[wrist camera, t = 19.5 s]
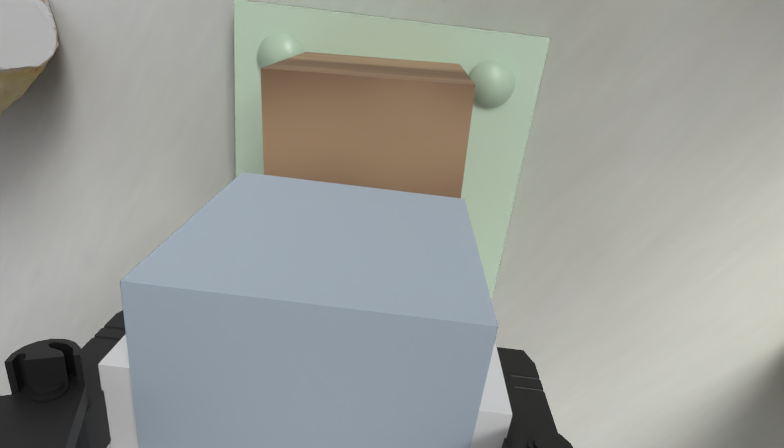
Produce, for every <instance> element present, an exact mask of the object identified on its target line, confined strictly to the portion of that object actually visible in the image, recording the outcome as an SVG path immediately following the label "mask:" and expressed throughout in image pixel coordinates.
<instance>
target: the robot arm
mask: <svg viewBox="0 0 784 448" xmlns="http://www.w3.org/2000/svg"><path fill="white" fill-rule="evenodd" d="M5 366H6V371H7V375H8V379H9V383H10V388H11V392H12V394H11V395H5V396H0V448H106V447H107V446H108V444H109V443H110V448H139V447H138V438H137V429H136V420H135V411H134V402H133V393H132V384H131V376H130V367H129V358H128V349H127V340H126V331H125V322H124V313H123V311H121V312H119V313H117V314H116V315H115V316H114V317H113V318H112V319H111V320H110V321H109V322H108V323H107V324H106V325H105V326H104V328H102V329H101V330H100V331H99V332H98V333H97V334H96V335H95V337H94V338H92V339H91V340H90V341H89V342H88V343H87V344H86V345H85V346H84V347H83V348H82V349H80V347H79V346H78V345H77V344H76V343H75V342H73V341H70V340H66V339H49V340H43V341H37V342H35V343H32V344H29V345H27V346H24V347H22V348H20V349H19V350H17V351H16V352H14V353H12V354H11V355H10V356H9V357H8V359H7V360H6V361H5ZM470 448H573V447H572V445H571V443H569V442H568V441H567V440H566V439H565V438H564V437H563V436H562V435H560V434H558V432H557V429H556V426H555V423H554V420H553V417H552V414H551V411H550V408H549V405H548V402H547V399H546V396H545V393H544V392H543V387H542V384H541V381H540V380H539V375H538V372H537V369H536V366H535V363H534V362H533V361H532V360H531V359H530V358H529V357H528V355H527V354H526V353H525V352H524V351H523V350H515V349H507V348H499V347H496V342H495V343H494V347H493V351H492V356H491V360H490V365H489V369H488V373H487V378H486V382H485V386H484V391H483V395H482V399H481V404H480V408H479V413H478V417H477V421H476V426H475V430H474V434H473V439H472V443H471V447H470Z"/></svg>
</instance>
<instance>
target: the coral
mask: <svg viewBox="0 0 784 448" xmlns="http://www.w3.org/2000/svg"><path fill="white" fill-rule="evenodd" d="M58 45H59V42H58V37H57V28H56V25H55V22H54V18H53V15H52V12H51V9H50V6H49V2H48V0H0V115H1V114H2V113H3V112H4V111H5V109H6V108H8V107H9V106H11V105H12V103H13V102H14V101H16V100H17V99H19V98H21V97H22V96H23V94H24V93H25V92H26V91H27V89H28V88H29V87H30V85H31V84H32V83H33V82H34V81H35V80H36V78H37V77H38V75H39V74H41V72H42V71H43V70H44V69H45V67H46V65H47V63H48V61H49V60H50V59H51V58H52V56H53V54H54V52H55V50H56V48H57V47H58Z"/></svg>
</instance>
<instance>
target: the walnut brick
mask: <svg viewBox="0 0 784 448" xmlns="http://www.w3.org/2000/svg"><path fill="white" fill-rule="evenodd" d="M260 70H261V100H262V131H263V161H264V175H271V176H279V177H287V178H296V179H304V180H312V181H320V182H329V183H337V184H345V185H354V186H362V187H370V188H378V189H387V190H395V191H403V192H412V193H420V194H428V195H436V196H445V197H453V198H461V192H462V184H463V177H464V169H465V162H466V154H467V146H468V139H469V131H470V124H471V116H472V108H473V101H474V93H475V86H476V85H475V84H474V82H473V81H472V80H471V78H470V77H469V76H468V74H467V73H466V72H465V70H464V69H463V68H462V66H461V65H460V64H455V63H442V62H429V61H417V60H404V59H391V58H378V57H365V56H352V55H339V54H326V53H313V52H304V53H301V54H298V55H295V56H293V57H290V58H287V59H284V60H282V61H279V62H276V63H273V64H271V65H268V66H265V67H262V68H260Z"/></svg>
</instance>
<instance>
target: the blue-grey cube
mask: <svg viewBox="0 0 784 448" xmlns="http://www.w3.org/2000/svg"><path fill="white" fill-rule="evenodd" d="M120 286H121V295H122V304H123V313H124V322H125V331H126V340H127V349H128V358H129V367H130V376H131V384H132V393H133V402H134V411H135V420H136V429H137V438H138V447H139V448H470V447H471V443H472V439H473V434H474V430H475V426H476V421H477V417H478V413H479V408H480V404H481V399H482V395H483V391H484V386H485V382H486V378H487V373H488V369H489V365H490V360H491V356H492V351H493V347H494V343H495V338H496V334H497V330H498V324H497V320H496V316H495V313H494V309H493V305H492V301H491V297H490V294H489V290H488V286H487V282H486V278H485V275H484V271H483V267H482V263H481V259H480V256H479V252H478V248H477V244H476V240H475V237H474V233H473V229H472V225H471V222H470V218H469V214H468V210H467V206H466V203H465V199H461V198H453V197H445V196H436V195H428V194H420V193H412V192H403V191H395V190H387V189H378V188H370V187H362V186H354V185H345V184H337V183H329V182H320V181H312V180H304V179H296V178H287V177H279V176H271V175H262V174H254V173H246V172H242V173H241V174H239V175H238V176H237V177H236V178H235V179H234V180H233V181H232V182H231V183H229V184H228V185H227V186H226V187H225V188H224V189H223V190H222V191H220V192H219V193H218V194H217V195H216V196H215V197H214V198H213V199H211V200H210V201H209V202H208V203H207V204H206V205H205V206H204V207H202V208H201V209H200V210H199V211H198V212H197V213H196V214H195V215H193V216H192V217H191V218H190V219H189V220H188V221H187V222H186V223H185V224H183V225H182V226H181V227H180V228H179V229H178V230H177V231H176V232H174V233H173V234H172V235H171V236H170V237H169V238H168V239H167V240H165V241H164V242H163V243H162V244H161V245H160V246H159V247H158V248H156V249H155V250H154V251H153V252H152V253H151V254H150V255H149V256H147V257H146V258H145V259H144V260H143V261H142V262H141V263H140V264H139V265H137V266H136V267H135V268H134V269H133V270H132V271H131V272H130V273H128V274H127V275H126V276H125V277H124V278H123V279H122V280H121V281H120Z"/></svg>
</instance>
